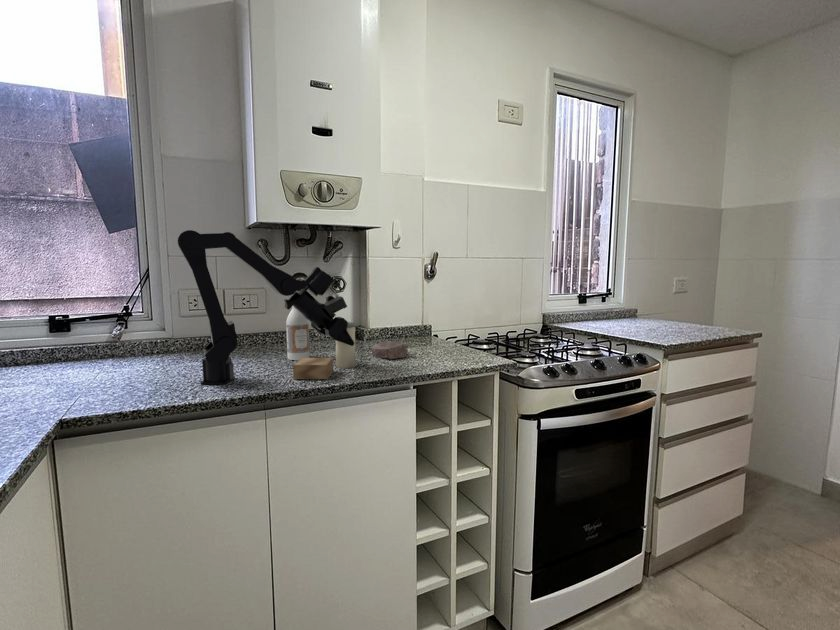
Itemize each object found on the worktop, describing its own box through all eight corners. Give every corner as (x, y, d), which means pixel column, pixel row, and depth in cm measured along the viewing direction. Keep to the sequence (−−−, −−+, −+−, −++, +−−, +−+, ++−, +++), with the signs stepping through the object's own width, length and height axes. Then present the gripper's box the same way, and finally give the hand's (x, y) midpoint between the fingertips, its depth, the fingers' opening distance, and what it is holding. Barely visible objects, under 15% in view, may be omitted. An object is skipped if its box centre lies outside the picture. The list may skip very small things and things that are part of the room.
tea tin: (334, 368, 130) (333, 325, 128) (337, 363, 136) (336, 322, 134) (354, 368, 130) (353, 325, 128) (357, 363, 136) (356, 322, 134)
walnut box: (293, 379, 117) (293, 365, 117) (302, 371, 126) (301, 357, 126) (327, 379, 117) (326, 365, 117) (333, 371, 126) (333, 357, 126)
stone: (367, 355, 148) (367, 342, 147) (388, 352, 154) (388, 339, 153) (388, 361, 139) (388, 347, 139) (409, 358, 145) (410, 344, 144)
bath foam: (291, 362, 138) (289, 298, 135) (284, 358, 143) (282, 297, 141) (312, 359, 141) (310, 297, 139) (305, 355, 147) (303, 296, 145)
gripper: (339, 289, 119) (377, 326, 126) (319, 285, 135) (354, 318, 142) (312, 319, 116) (352, 355, 123) (295, 312, 133) (331, 344, 139)
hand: (348, 342), depth 132 cm, fingers open, 9 cm apart
